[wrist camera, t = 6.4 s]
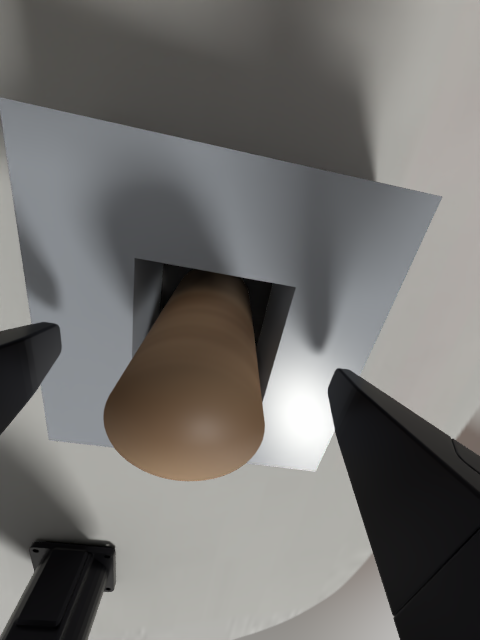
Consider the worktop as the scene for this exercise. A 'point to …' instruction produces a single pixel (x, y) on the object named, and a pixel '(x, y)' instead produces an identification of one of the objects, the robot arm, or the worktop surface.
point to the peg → (192, 385)
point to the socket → (201, 261)
